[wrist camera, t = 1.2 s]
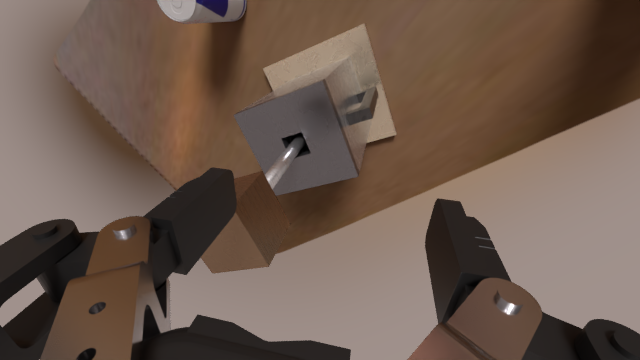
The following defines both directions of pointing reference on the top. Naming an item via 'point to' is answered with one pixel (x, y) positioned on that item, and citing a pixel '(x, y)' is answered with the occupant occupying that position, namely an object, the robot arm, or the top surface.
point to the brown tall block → (254, 218)
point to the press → (320, 111)
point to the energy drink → (203, 10)
